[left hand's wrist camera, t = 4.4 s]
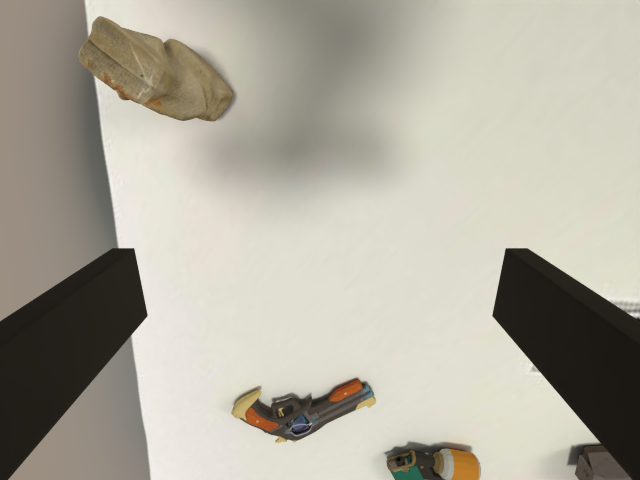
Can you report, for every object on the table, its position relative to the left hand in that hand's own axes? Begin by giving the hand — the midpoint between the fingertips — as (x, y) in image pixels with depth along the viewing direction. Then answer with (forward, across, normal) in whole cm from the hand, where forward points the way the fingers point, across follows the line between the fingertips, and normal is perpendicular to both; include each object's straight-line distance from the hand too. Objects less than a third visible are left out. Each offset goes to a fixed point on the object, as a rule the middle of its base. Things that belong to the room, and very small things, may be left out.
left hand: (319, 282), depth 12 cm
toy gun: (+28, -2, -33) cm, 44 cm away
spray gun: (+28, +18, -50) cm, 60 cm away
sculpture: (+28, -12, +8) cm, 32 cm away
